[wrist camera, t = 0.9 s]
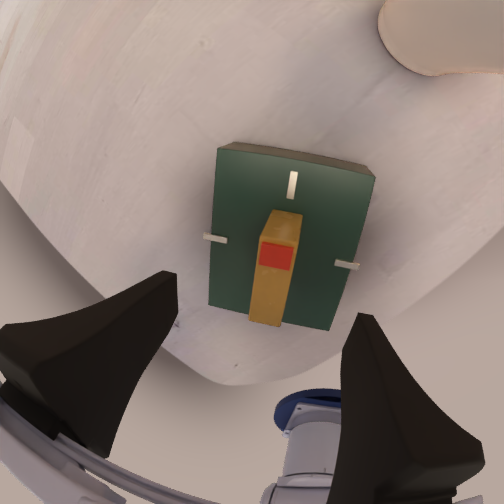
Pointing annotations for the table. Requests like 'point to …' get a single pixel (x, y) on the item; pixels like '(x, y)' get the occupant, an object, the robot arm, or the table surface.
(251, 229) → the knob panel
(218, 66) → the table surface
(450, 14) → the drinking glass
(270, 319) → the yellow block
